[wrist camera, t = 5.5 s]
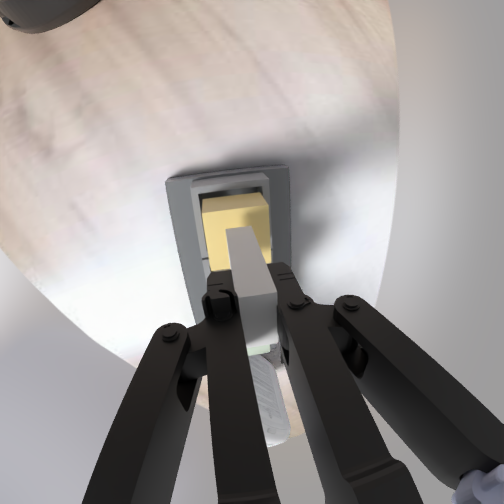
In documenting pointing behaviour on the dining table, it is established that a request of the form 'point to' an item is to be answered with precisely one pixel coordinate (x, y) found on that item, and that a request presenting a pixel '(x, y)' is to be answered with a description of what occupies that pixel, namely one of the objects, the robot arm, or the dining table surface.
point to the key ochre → (234, 224)
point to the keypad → (191, 223)
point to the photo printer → (269, 401)
